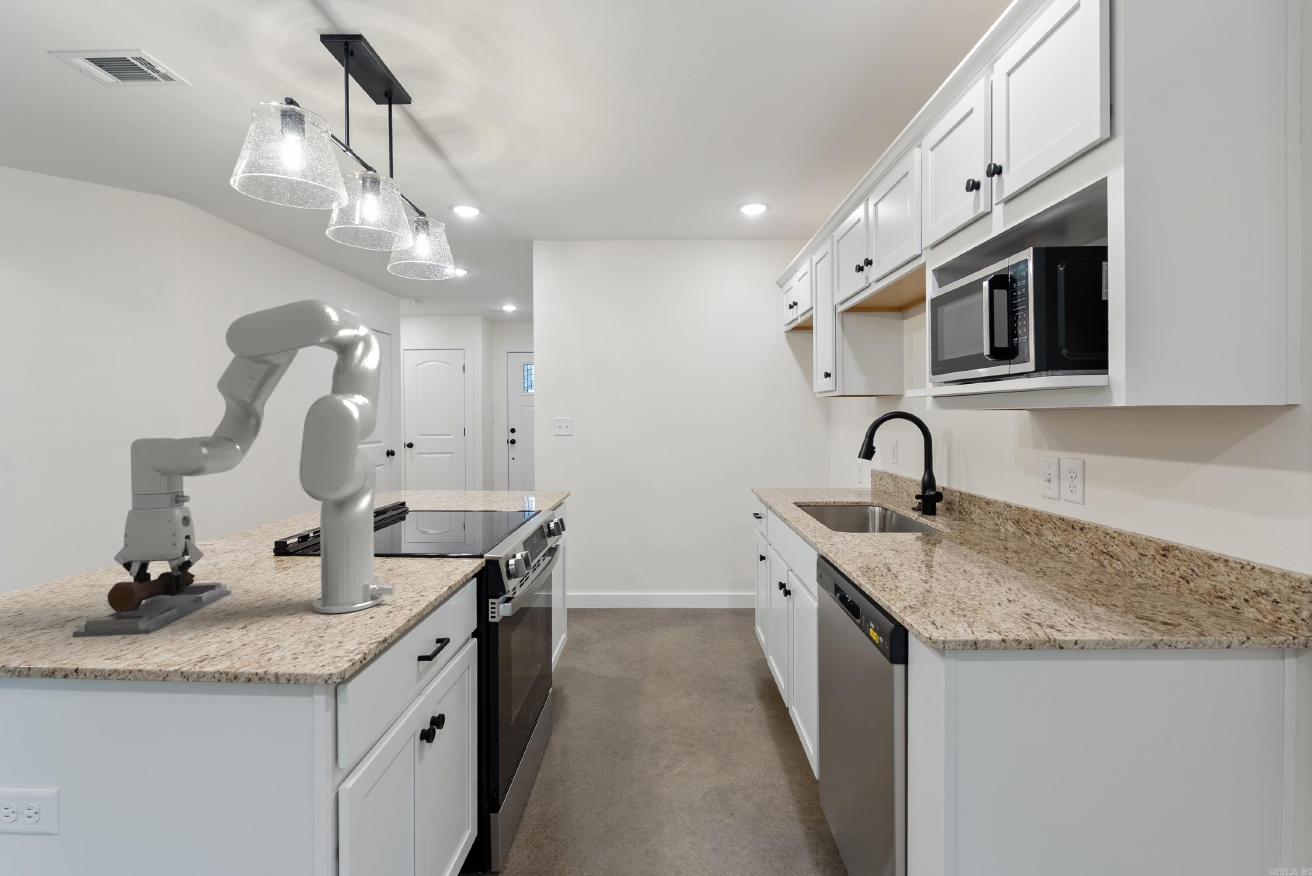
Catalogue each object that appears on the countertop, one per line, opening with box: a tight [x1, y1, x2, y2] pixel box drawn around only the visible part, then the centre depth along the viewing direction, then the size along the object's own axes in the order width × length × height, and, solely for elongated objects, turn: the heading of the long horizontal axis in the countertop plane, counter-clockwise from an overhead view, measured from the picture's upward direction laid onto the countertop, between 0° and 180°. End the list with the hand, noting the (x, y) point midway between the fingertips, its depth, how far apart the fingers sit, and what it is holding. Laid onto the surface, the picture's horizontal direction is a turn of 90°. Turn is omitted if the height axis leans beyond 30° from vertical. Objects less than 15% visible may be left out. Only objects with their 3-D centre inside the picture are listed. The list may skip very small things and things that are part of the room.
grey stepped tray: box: [72, 589, 232, 638], centre depth 109 cm, size 12×23×1 cm, turn 8°
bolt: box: [107, 570, 196, 612], centre depth 108 cm, size 6×5×15 cm
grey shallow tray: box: [77, 582, 228, 632], centre depth 109 cm, size 10×23×2 cm, turn 8°
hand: (160, 593), depth 109 cm, fingers closed on bolt, 5 cm apart
